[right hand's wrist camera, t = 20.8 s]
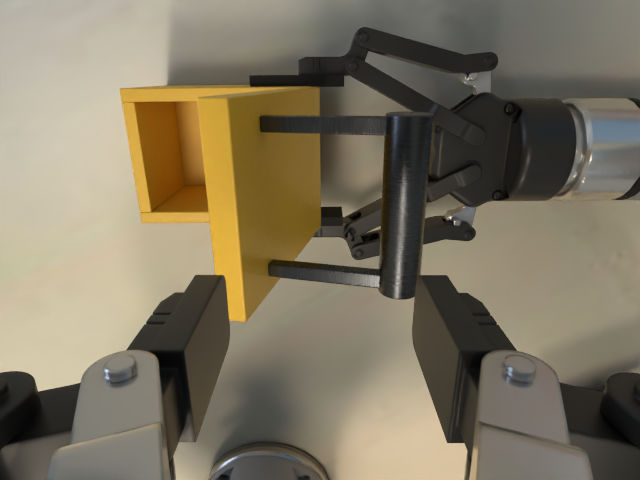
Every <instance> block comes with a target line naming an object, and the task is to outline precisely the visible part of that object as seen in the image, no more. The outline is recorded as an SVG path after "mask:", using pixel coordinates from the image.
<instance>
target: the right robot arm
mask: <svg viewBox="0 0 640 480" xmlns="http://www.w3.org/2000/svg"><path fill="white" fill-rule="evenodd" d="M412 336H413V345H414V349H415V352H416V355H417V358H418V361H419V363H420V366H421V369H422V372H423V375H424V378H425V381H426V383H427V386H428V389H429V392H430V395H431V398H432V400H433V403H434V406H435V409H436V412H437V415H438V418H439V420H440V423H441V426H442V429H443V432H444V435H445V438H446V440H447V443H465V445H466V448H467V450H468V451H467V458H466V464H465V474H464V480H640V374H638V373H618V374H614V375H612V376H610V377H609V378H608V380H607V383H606V387H605V390H604V392H600V391H595V390H590V389H585V388H580V387H575V386H571V385H567V384H563V383H560V382H559V379H558V376H557V374H556V373H555V371H554V370H553V369H552V368H551V367H550V366H549V365H548V364H547V363H545V362H544V361H542V360H540V359H538V358H537V357H534V356H532V355H529V354H526V353H523V352H519V351H517V350H516V349H515V347H514V346H513V345H512V343H511V342H510V341H509V339H508V338H507V336H506V335H505V334H504V332H503V331H502V330H501V328H500V327H499V325H497V324H496V321H495V320H494V319H493V317H492V316H490V313H489V312H488V310H487V309H486V308H485V306H484V305H483V303H482V302H480V301H479V300H477V299H476V298H474V297H473V296H471V295H469V294H468V293H458V292H457V290H456V288H455V287H454V285H453V284H452V282H451V281H450V279H449V278H448V276H446V275H419V276H418V278H417V282H416V291H415V302H414V314H413V326H412ZM229 337H230V323H229V311H228V300H227V288H226V280H225V277H224V275H195V277H194V278H193V280H192V281H191V283H190V284H189V286H188V287H187V289H186V291H185V292H184V293H174V294H172V295H171V296H169V297H168V298H166V299H165V300H163V301H162V302H160V304H159V305H158V307H157V308H156V309H155V311H154V312H153V315H151V316H150V318H149V319H148V321H147V322H146V325H144V326H143V328H142V329H141V330H140V332H139V333H138V335H137V336H136V337H135V339H134V340H133V341H132V343H131V344H130V346H129V347H128V348H127V350H126V351H121V352H117V353H114V354H111V355H108V356H106V357H103V358H102V359H100V360H98V361H96V362H95V363H93V364H92V365H91V366H90V367H89V368H88V369H87V370H86V371H85V373H84V374H83V376H82V379H81V383H78V384H74V385H69V386H64V387H59V388H55V389H50V390H45V391H40V392H38V390H37V386H36V383H35V380H34V378H33V376H31V375H30V374H28V373H25V372H19V371H11V372H3V373H0V480H176V474H175V464H174V458H173V455H174V453H175V450H176V448H177V445H178V442H196V440H197V437H198V434H199V431H200V428H201V425H202V422H203V419H204V416H205V413H206V410H207V408H208V405H209V402H210V399H211V396H212V393H213V390H214V387H215V384H216V381H217V378H218V376H219V373H220V370H221V367H222V364H223V361H224V358H225V355H226V352H227V349H228V345H229Z"/></svg>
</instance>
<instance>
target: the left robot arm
mask: <svg viewBox="0 0 640 480" xmlns="http://www.w3.org/2000/svg"><path fill="white" fill-rule="evenodd" d="M368 51H370V52H373V53H377V54H380V55H384V56H388V57H391V58H395V59H398V60H402V61H405V62H409V63H413V64H416V65H420V66H423V67H427V68H431V69H434V70H438V71H441V72H446V73H454V74H458V79H459V81H460V83H462V84H464V85H468V86H470V87H471V88H472V90H473V94H472V95H470V96H469V97H467V98H466V99H464V100H463V101H462V102H460V103H459V104H457V105H456V106H455V107H453V108H452V109H450V110H448V109H446V108H444V107H443V106H441V105H439V104H437V103H435V102H433V101H431V100H430V99H428V98H426V97H425V96H423V95H421V94H419V93H418V92H416V91H414V90H413V89H411V88H409V87H407V86H406V85H404V84H402V83H401V82H399V81H397V80H395V79H394V78H392V77H390V76H389V75H387V74H385V73H383V72H382V71H380V70H378V69H377V68H375V67H373V66H371V65H370V64H368V63H366V62H365V58H366V56H367V53H368ZM497 63H498V57H497V56H496V54H494V53H492V52H487V53H477V54H468V55H463V54H459V53H456V52H452V51H449V50H445V49H442V48H438V47H434V46H431V45H427V44H424V43H420V42H417V41H413V40H410V39H406V38H403V37H399V36H395V35H392V34H388V33H385V32H381V31H378V30H374V29H371V28H367V27H362V28H360V29H359V30H358V31H357V32H356V34H355V35H354V38H353V41H352V44H351V47H350V50H349V52H348V53H347V54H346V55H345V56H342V57H305V58H303V59H301V60H299V75H266V76H249V77H250V87H285V86H311V87H341V86H344V76H346V75H350V76H351V77H353V78H355V79H357V80H358V81H360V82H362V83H364V84H365V85H367V86H369V87H371V88H372V89H374V90H376V91H378V92H379V93H381V94H383V95H384V96H386V97H388V98H390V99H391V100H393V101H395V102H397V103H398V104H400V105H402V106H404V107H405V108H407V109H409V110H411V111H412V112H427V113H432V114H433V125H432V137H431V149H430V161H429V174H428V186H427V198H426V202H432V201H435V200H437V199H439V198H441V197H443V196H445V195H447V194H450V195H451V196H453V197H454V198H455V199H457V200H458V201H459V202H460V205H459V206H458V207H457V208H456V209H452V210H449V211H447V212H446V213H445V215H444V216H434V217H429V218H425V223H424V235H423V245H424V244H428V243H432V242H436V241H440V240H444V239H448V240H460V241H470V240H472V239H473V238H474V237H475V235H476V231H475V229H474V228H473V227H472V223H473V219H474V214H475V210H476V207H477V206H480V205H482V204H484V203H486V202H489V201H546V200H549V199H551V198H553V199H554V200H558V201H578V200H640V99H633V98H570V99H565V100H563V101H560V100H558V99H555V98H551V99H501V98H499V97H497V96H495V95H494V94H492V93H491V71H492V70H493V69H494V68H495V67H496V66H497ZM381 213H382V198H381V199H379V200H377V201H375V202H373V203H371V204H369V205H367V206H365V207H363V208H361V209H359V210H357V211H355V212H353V213H352V214H350V215H348V216H346V217H343V216H342V208H341V207H321V226H320V228H319V229H318V230H317V231H316V233H315V234H314V235H313V237H341V238H344V239H345V240H346V241H347V243H348V246H349V248H350V251H351V255H352V257H353V258H354V259H356V260H361V259H366V258H370V257H374V256H378V255H380V236H381V230H376V231H372V232H368V231H370V230H372V229H374V228H376V227H378V226H380V225H381ZM366 232H368V233H366ZM208 480H328V478H327V475H326V473H325V471H324V470H323V468H322V467H321V466H320V465H319V463H318V462H317V461H316V460H314V459H313V458H312V457H311V456H309V455H308V454H306V453H304V452H302V451H300V450H298V449H296V448H293V447H290V446H287V445H283V444H277V443H254V444H248V445H245V446H241V447H238V448H236V449H234V450H232V451H230V452H228V453H227V454H225V455H224V456H223V457H222V458H220V459H219V460H218V462H217V463H216V464H215V465H214V467H213V469H212V471H211V473H210V476H209V479H208Z"/></svg>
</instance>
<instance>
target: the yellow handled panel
mask: <svg viewBox="0 0 640 480" xmlns="http://www.w3.org/2000/svg"><path fill="white" fill-rule="evenodd" d="M197 107H198V116H199V126H200V135H201V144H202V154H203V163H204V173H205V182H206V191H207V201H208V210H209V219H210V229H211V238H212V248H213V257H214V266H215V275H224V277H225V280H226V288H227V300H228V311H229V320H233V321H240V322H246V321H247V320H248V319H249V317H250V316H251V315H252V314H253V312H254V311H255V310H256V308H257V307H258V306H259V305H260V303H261V302H262V301H263V300H264V298H265V297H266V296H267V294H268V293H269V292H270V291H271V289H272V288H273V287H274V285H275V284H276V283H277V282H278V280H279V279H280V278H289V279H299V280H308V281H317V282H327V283H336V284H345V285H355V286H364V287H373V288H378V289H379V292H380V293H381V294H383V295H384V296H386V297H389V298H393V299H410V298H413V297H415V291H416V282H417V278H418V276H419V275H420V272H421V260H422V247H423V235H424V223H425V210H426V198H427V186H428V174H429V161H430V149H431V137H432V124H433V114H432V113H427V112H390V113H387V114H386V116H320V88H319V87H297V88H286V89H276V90H266V91H255V92H245V93H235V94H224V95H214V96H204V97H198V98H197ZM320 134H352V135H385V144H384V167H383V190H382V213H381V236H380V259H379V269H369V268H359V267H349V266H338V265H328V264H318V263H307V262H297V261H294V260H295V258H296V257H297V256H298V255H299V253H300V252H301V251H302V249H303V248H304V247H305V246H306V244H307V243H308V242H309V240H310V239H311V238H312V237H313V235H314V234H315V233H316V231H317V230H318V229H319V228H320V226H321V175H320Z"/></svg>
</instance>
